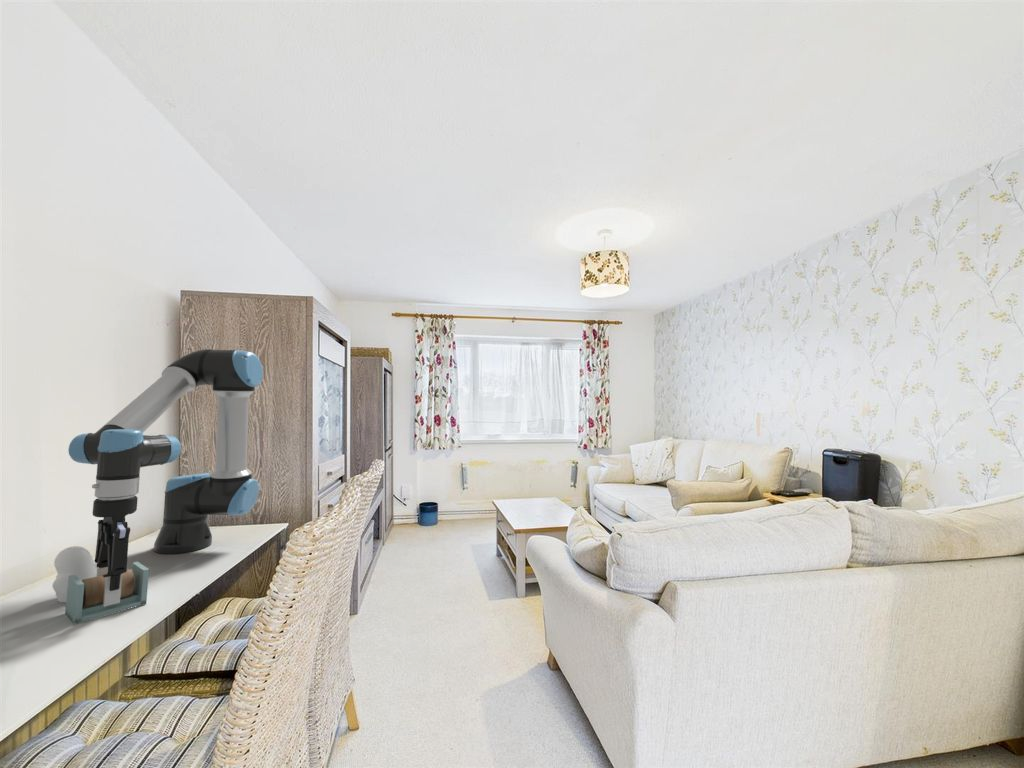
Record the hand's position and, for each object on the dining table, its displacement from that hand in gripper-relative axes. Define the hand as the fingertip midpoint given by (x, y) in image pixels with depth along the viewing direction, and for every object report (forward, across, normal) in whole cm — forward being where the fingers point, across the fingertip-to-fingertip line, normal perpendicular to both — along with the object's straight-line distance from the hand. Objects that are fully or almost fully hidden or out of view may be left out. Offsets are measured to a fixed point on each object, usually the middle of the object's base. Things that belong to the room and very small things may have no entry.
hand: (107, 599), depth 98 cm
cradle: (+2, 0, 0) cm, 2 cm away
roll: (-3, 0, 0) cm, 3 cm away
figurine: (+2, -13, -3) cm, 13 cm away
